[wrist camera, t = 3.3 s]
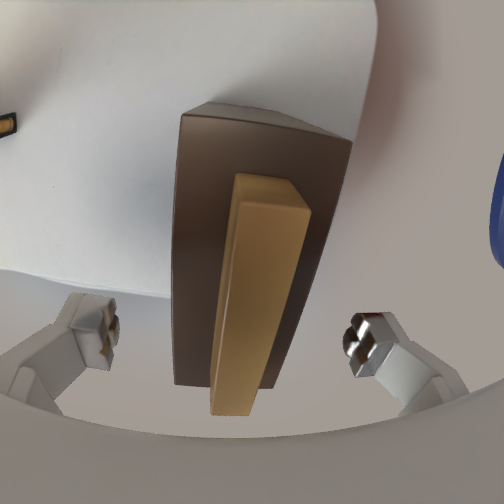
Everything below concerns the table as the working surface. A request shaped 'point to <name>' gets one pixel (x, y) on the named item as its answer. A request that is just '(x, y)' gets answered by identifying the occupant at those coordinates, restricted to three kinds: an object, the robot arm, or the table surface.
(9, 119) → the ammunition clip
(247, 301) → the tan wooden bar
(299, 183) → the brown thick block
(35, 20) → the table surface
